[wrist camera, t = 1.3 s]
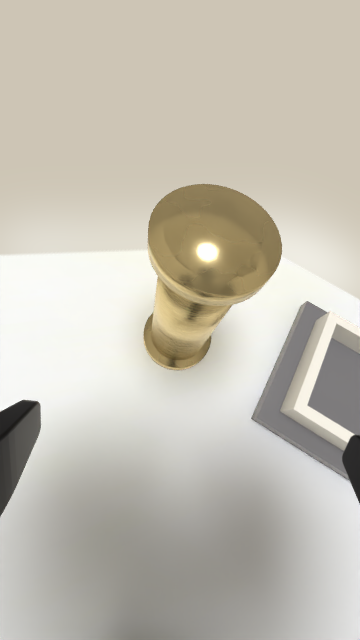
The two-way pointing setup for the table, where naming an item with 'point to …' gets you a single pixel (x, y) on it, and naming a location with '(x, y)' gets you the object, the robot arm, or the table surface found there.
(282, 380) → the socket plate
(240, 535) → the table surface
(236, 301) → the brass fitting
